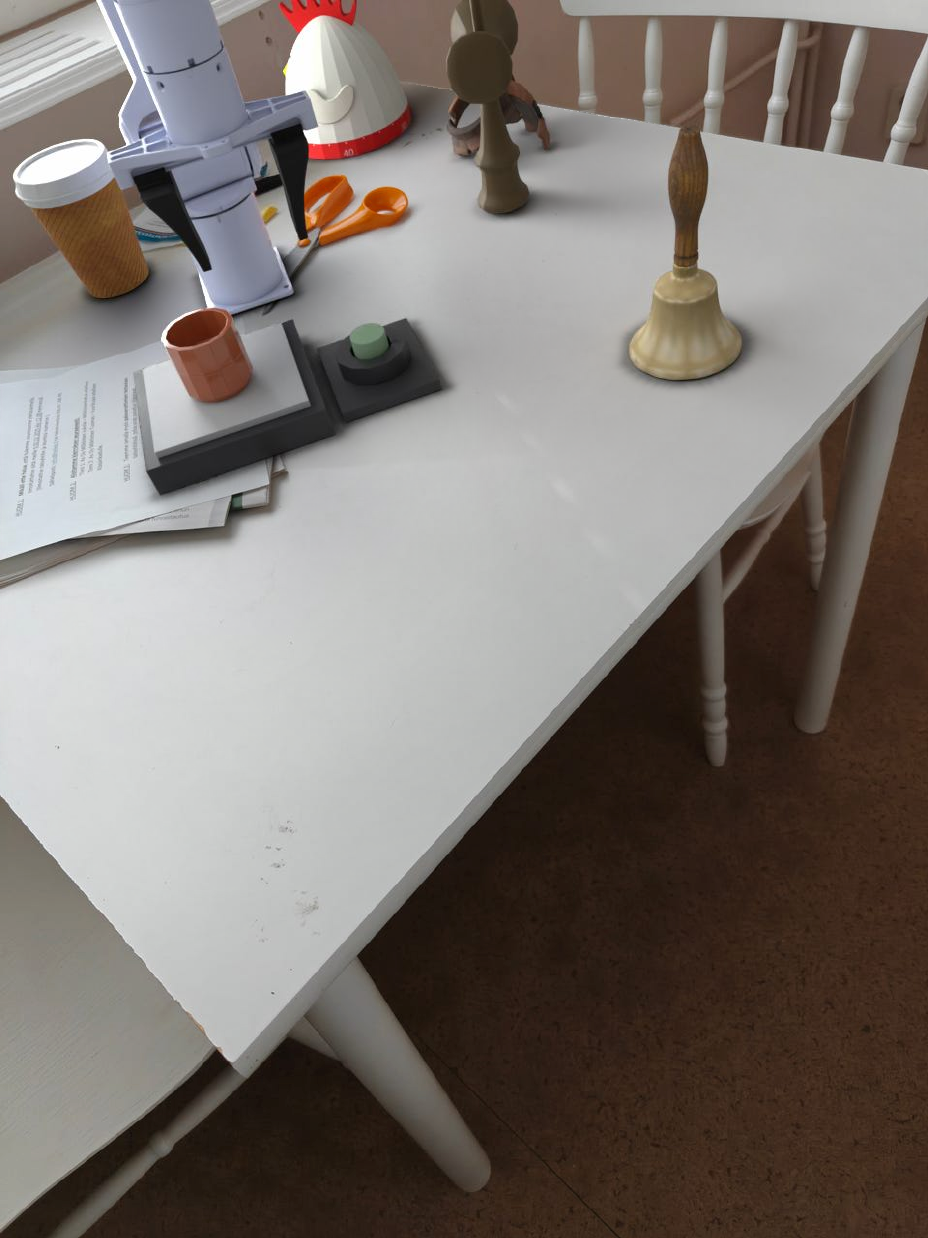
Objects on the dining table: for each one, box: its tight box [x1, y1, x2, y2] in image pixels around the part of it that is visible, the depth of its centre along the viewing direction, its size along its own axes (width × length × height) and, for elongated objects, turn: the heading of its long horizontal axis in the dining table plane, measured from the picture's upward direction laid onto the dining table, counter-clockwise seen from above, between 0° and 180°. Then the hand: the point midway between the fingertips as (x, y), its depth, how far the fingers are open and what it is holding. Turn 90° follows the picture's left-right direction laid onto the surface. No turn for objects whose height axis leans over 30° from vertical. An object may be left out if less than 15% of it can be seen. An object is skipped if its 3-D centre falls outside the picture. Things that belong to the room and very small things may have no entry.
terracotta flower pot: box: [160, 307, 253, 403], centre depth 71 cm, size 5×6×5 cm
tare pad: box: [316, 317, 443, 423], centre depth 74 cm, size 10×8×2 cm
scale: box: [132, 318, 336, 496], centre depth 74 cm, size 14×14×3 cm
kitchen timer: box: [278, 0, 412, 160], centre depth 101 cm, size 14×14×15 cm
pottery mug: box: [445, 73, 551, 157], centre depth 96 cm, size 12×10×8 cm
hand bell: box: [628, 124, 743, 381], centre depth 64 cm, size 8×8×16 cm
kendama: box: [445, 0, 530, 214], centre depth 82 cm, size 6×10×20 cm, turn 176°
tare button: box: [349, 323, 389, 359], centre depth 73 cm, size 3×3×2 cm
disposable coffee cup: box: [12, 138, 150, 299], centre depth 89 cm, size 10×10×12 cm
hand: (254, 249), depth 71 cm, fingers open, 7 cm apart
